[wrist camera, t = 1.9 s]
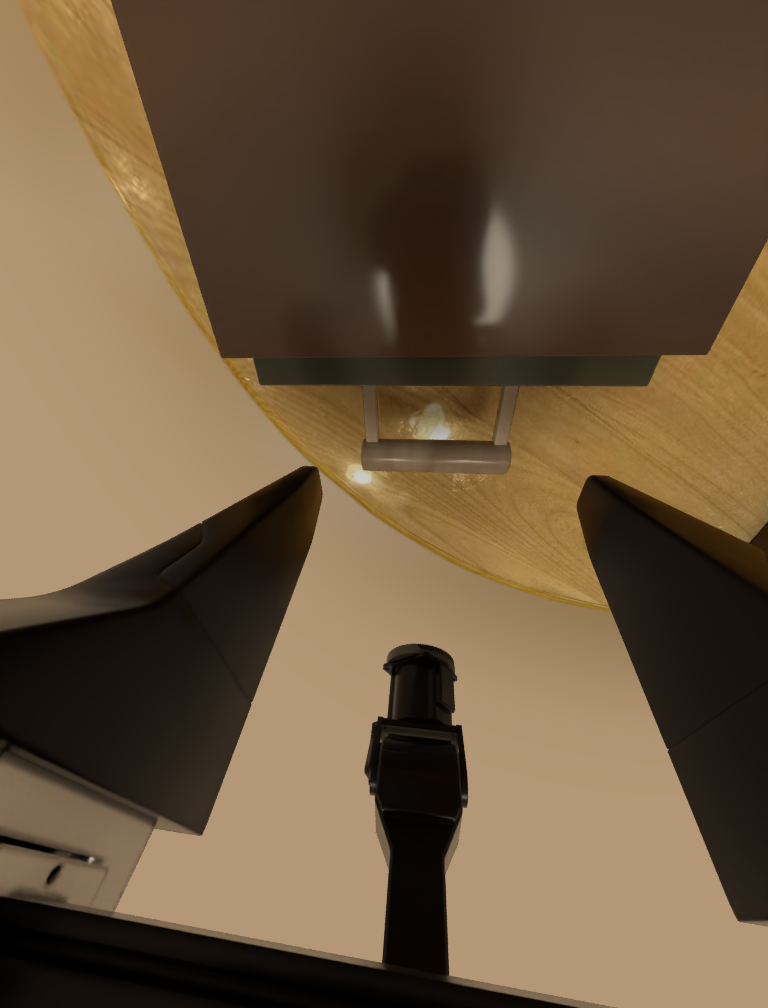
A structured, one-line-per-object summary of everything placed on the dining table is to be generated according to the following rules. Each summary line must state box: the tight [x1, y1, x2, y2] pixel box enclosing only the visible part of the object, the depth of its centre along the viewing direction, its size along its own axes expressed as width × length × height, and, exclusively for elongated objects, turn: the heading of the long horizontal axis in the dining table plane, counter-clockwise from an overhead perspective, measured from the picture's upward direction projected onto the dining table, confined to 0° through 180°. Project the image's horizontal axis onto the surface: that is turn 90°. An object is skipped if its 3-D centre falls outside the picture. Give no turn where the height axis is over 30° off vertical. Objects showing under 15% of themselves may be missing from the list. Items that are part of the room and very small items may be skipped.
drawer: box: [253, 355, 661, 475], centre depth 11 cm, size 21×14×7 cm, turn 2°
